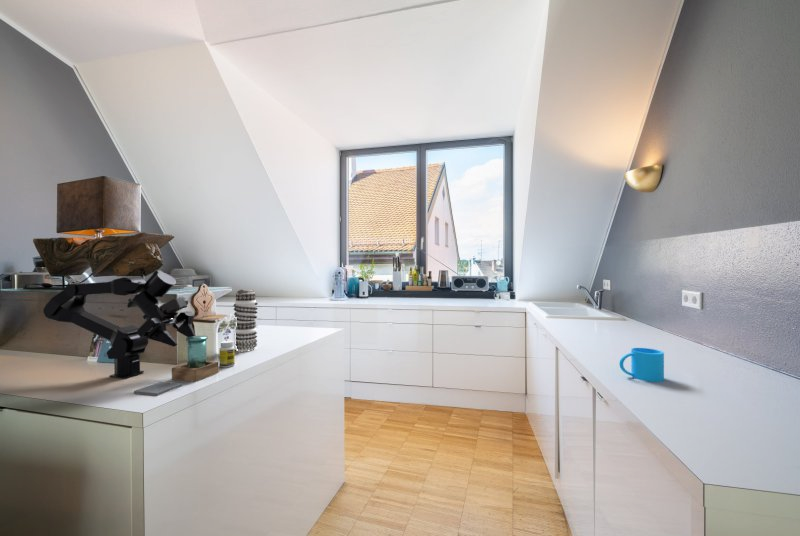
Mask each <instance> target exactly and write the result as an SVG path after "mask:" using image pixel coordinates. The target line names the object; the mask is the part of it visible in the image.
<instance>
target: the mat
mask: <svg viewBox="0 0 800 536" xmlns="http://www.w3.org/2000/svg"><path fill="white" fill-rule="evenodd" d="M182 386H183V383H178V382H167V381H158V382H155V383H152V384H149V385H147V386H144V387H142V388H139V389H136V390H134V391H133V394H136V395H137V394H139V395H148V396H149V395H150V396H160V395H163V394H165V393H168V392H170V391H173V390H175V389H178V388H181V387H182Z"/></svg>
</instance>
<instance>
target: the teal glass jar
mask: <svg viewBox="0 0 800 536" xmlns="http://www.w3.org/2000/svg"><path fill="white" fill-rule="evenodd" d="M208 339H209V336H208V335H196V336H192V337H187V336H186V338H185V341H186V343H187V344H186V345H187V347H186V350H187V353H186V354H187V355H186V356H187V360H186V361H187V362H186V363H187V368H200V367H203V366H206V365H207V361H208V360H207V340H208Z"/></svg>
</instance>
